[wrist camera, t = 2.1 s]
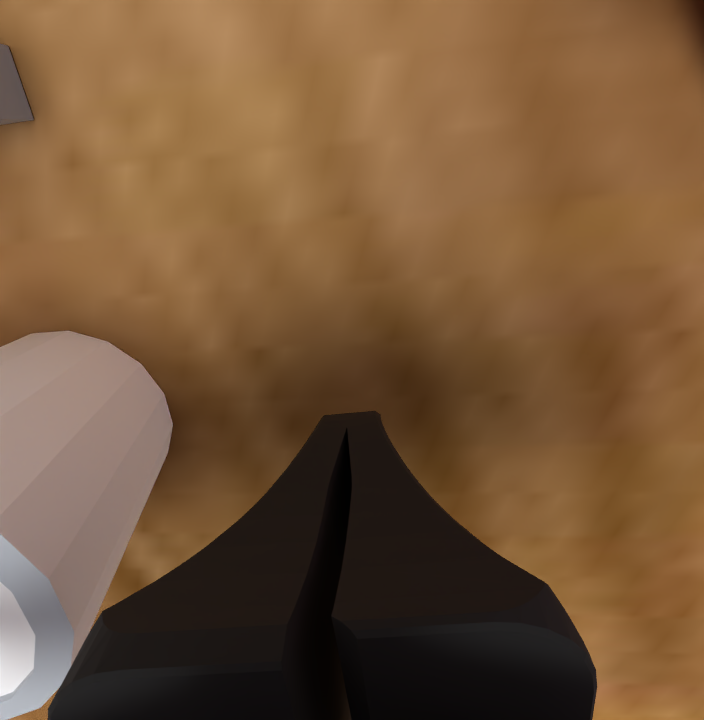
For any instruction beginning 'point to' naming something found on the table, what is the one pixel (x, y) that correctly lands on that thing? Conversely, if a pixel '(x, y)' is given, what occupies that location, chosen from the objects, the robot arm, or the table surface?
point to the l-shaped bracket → (11, 91)
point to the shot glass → (67, 496)
